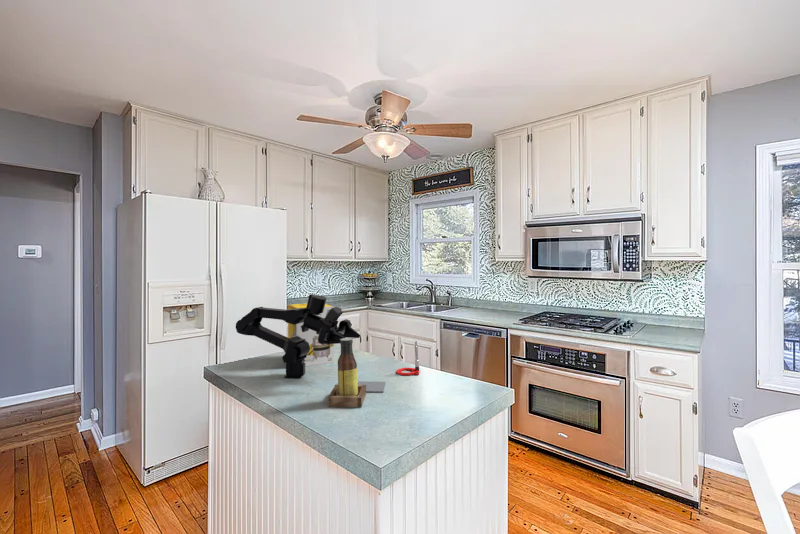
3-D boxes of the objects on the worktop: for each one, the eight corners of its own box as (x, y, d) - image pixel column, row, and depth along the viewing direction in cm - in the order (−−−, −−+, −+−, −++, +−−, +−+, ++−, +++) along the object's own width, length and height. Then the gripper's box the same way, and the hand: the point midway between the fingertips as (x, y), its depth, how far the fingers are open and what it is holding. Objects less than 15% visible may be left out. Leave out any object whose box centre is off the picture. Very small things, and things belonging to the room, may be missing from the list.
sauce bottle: (361, 397, 122) (361, 337, 121) (352, 404, 116) (352, 341, 116) (343, 395, 124) (343, 336, 124) (334, 402, 118) (333, 340, 118)
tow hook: (395, 377, 145) (419, 376, 145) (394, 344, 145) (417, 343, 145) (397, 370, 154) (419, 370, 153) (395, 339, 154) (417, 338, 153)
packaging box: (296, 367, 156) (296, 308, 155) (288, 358, 170) (287, 304, 170) (333, 362, 164) (333, 306, 163) (322, 354, 178) (322, 302, 177)
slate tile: (354, 392, 127) (354, 390, 127) (358, 382, 137) (358, 381, 137) (383, 392, 127) (383, 391, 127) (385, 383, 137) (385, 381, 137)
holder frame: (327, 406, 114) (327, 397, 114) (335, 393, 126) (335, 384, 126) (361, 407, 114) (361, 397, 114) (366, 393, 125) (366, 385, 125)
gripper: (310, 307, 131) (348, 322, 127) (336, 301, 149) (370, 314, 144) (303, 336, 132) (340, 352, 128) (329, 327, 150) (363, 341, 145)
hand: (354, 339), depth 136 cm, fingers open, 9 cm apart
